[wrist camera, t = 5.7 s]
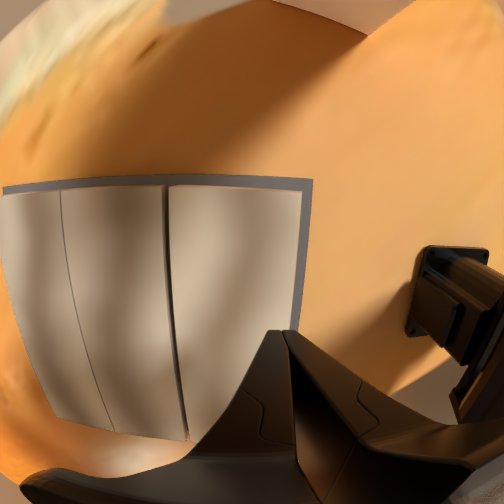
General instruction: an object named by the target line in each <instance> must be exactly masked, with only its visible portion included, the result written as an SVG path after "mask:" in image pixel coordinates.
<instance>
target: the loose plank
mask: <svg viewBox="0 0 504 504" xmlns="http://www.w3.org/2000/svg"><path fill="white" fill-rule="evenodd" d="M301 202H302V191H292V190H279V189H264V188H248V187H229V186H205V185H176V186H171V187H169V235H170V260H171V279H172V294H173V307H174V319H175V330H176V340H177V350H178V359H179V367H180V375H181V383H182V390H183V397H184V404H185V410H186V417H187V423H188V429H189V435H190V440H191V442H195V443H198V442H199V441H200V440H201V439H202V438H203V436H204V435H205V434H206V433H207V432H208V430H209V429H210V428H211V427H212V426H213V424H214V423H215V422H216V421H217V420H218V418H219V417H220V416H221V414H222V413H223V412H224V410H225V409H226V408H227V406H228V404H229V403H230V401H231V399H232V398H233V396H234V394H235V392H236V390H237V389H238V387H239V385H240V383H241V381H242V379H243V377H244V375H245V374H246V372H247V370H248V368H249V366H250V364H251V362H252V360H253V358H254V356H255V354H256V352H257V350H258V348H259V346H260V344H261V342H262V340H263V338H264V336H265V334H266V332H267V331H268V330H281V331H282V330H289V329H290V321H291V312H292V303H293V293H294V284H295V274H296V263H297V252H298V241H299V229H300V216H301Z"/></svg>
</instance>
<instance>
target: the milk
mask: <svg viewBox="0 0 504 504" xmlns="http://www.w3.org/2000/svg"><path fill="white" fill-rule="evenodd" d="M272 1H276V2H280V3H283V4H287V5H290V6H294V7H297V8H300V9H303V10H306V11H309V12H312V13H315V14H318V15H321V16H323V17H326V18H329V19H331V20H334V21H336V22H339V23H341V24H344V25H346V26H349V27H351V28H353V29H355V30H358V31H360V32H362V33H364V34H366V35H370V34H372V33H373V32H374V31H375V30H377V29H378V28H379V27H381V26H382V25H383V24H384V23H386V22H387V21H388V20H390V19H391V18H392V17H394V16H395V15H396V14H398V13H399V12H400V11H402V10H403V9H404V8H406V7H407V6H408V5H410V4H411V3H413V2H414V1H415V0H272Z"/></svg>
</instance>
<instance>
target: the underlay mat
mask: <svg viewBox="0 0 504 504" xmlns="http://www.w3.org/2000/svg"><path fill="white" fill-rule="evenodd" d="M132 185H167V226H168V254H169V273H170V289H171V302H172V314H173V325H174V335H175V345H176V354H177V362H178V370H179V378H180V385H181V392H182V399H183V406H184V412H185V418H186V424H187V430H189V429H188V423H187V417H186V410H185V404H184V397H183V390H182V383H181V375H180V367H179V359H178V350H177V340H176V330H175V319H174V307H173V294H172V279H171V260H170V235H169V187H171V186H176V185H205V186H229V187H248V188H264V189H279V190H292V191H302V202H301V216H300V229H299V241H298V252H297V263H296V274H295V284H294V293H293V303H292V312H291V321H290V329H293V330H296V331H297V332H298V326H299V319H300V311H301V303H302V295H303V286H304V277H305V268H306V258H307V248H308V238H309V226H310V214H311V202H312V188H313V179H306V178H291V177H274V176H251V175H208V174H177V175H135V176H113V177H96V178H82V179H69V180H58V181H48V182H39V183H30V184H22V185H14V186H7V187H3V195H7V194H16V193H25V192H35V191H46V190H58V189H72V188H87V187H106V186H132ZM290 329H289V330H290Z"/></svg>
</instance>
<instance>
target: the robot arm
mask: <svg viewBox="0 0 504 504" xmlns="http://www.w3.org/2000/svg"><path fill="white" fill-rule="evenodd" d="M431 252H432V255H431V256H430V253H431ZM488 258H489V251H488V250H487V249H485V248H477V247H458V246H437V245H429V246H427V247H426V248H425V250H424V252H423V257H422V262H421V267H420V272H419V276H418V281H417V285H416V289H415V293H414V297H413V301H412V305H411V308H410V312H409V316H408V319H407V323H406V326H405V330H404V332H405V334H406V335H407V336H408V337H410V338H411V337H419V336H426V335H429V336H430V337H431V338H432V339H433V340H434V341H435V342H436V343H437V344H438V345H439V347H441V348H444V349H445V350H446V351H447V352H448V353H449V354H450V355H451V356H452V357H453V358H454V359H455V361H456V362H457V363H458V364H459V365H460V366H465V365H466V366H467V368H466V370H465V372H464V374H463V375H462V377H461V379H460V380H459V382H458V384H457V385H456V387H454V388H453V389H452V391H451V393H450V394H449V398H450V401H451V404H452V407H453V410H454V412H455V416H456V418H457V422H458V425H446V424H441V423H438V422H435V421H433V420H431V419H429V418H427V417H425V416H423V415H421V414H419V413H417V412H416V411H413V410H412V409H410V408H408V407H406V406H404V405H403V404H401V403H399V402H397V401H395V400H394V399H392V398H390V397H388V396H387V395H385V394H384V393H382V392H381V391H379V390H377V389H376V388H374V387H373V386H372V385H370V384H369V383H367V382H366V381H363V379H361V378H360V377H359V376H357V375H356V374H354V373H353V372H352V371H350V370H349V369H347V368H346V367H345V366H343V365H342V364H341V363H339V362H338V361H336V360H335V359H334V358H332V357H331V356H330V355H328V354H327V353H325V352H324V351H323V350H321V349H320V348H319V347H317V346H316V345H315V344H313V343H312V342H311V341H309V340H308V339H307V338H305V337H304V336H302V335H301V334H300V333H298V332H297V331H296V330H293V329H290V330H282V331H281V330H268V331H267V332H266V334H265V336H264V338H263V340H262V342H261V344H260V346H259V348H258V350H257V352H256V354H255V356H254V358H253V360H252V362H251V364H250V366H249V368H248V370H247V372H246V374H245V375H244V377H243V379H242V381H241V383H240V385H239V387H238V389H237V390H236V392H235V394H234V396H233V398H232V399H231V401H230V403H229V404H228V406H227V408H226V409H225V410H224V412H223V413H222V414H221V416H220V417H219V418H218V420H217V421H216V422H215V423H214V424H213V426H212V427H211V428H210V429H209V430H208V432H207V433H206V434H205V435H204V436H203V438H202V439H201V440H200V441H199V442H198V443H197V444H196V446H195V447H194V448H193V449H192V450H191V451H190V452H189V453H188V454H187V455H186V456H184V457H183V458H182V459H180V460H178V461H176V462H174V463H171V464H168V465H164V466H161V467H158V468H155V469H151V470H148V471H145V472H141V473H137V474H134V475H130V476H126V477H120V478H98V477H93V476H88V475H85V474H81V473H78V472H75V471H71V470H68V469H64V468H51V469H47V470H43V471H40V472H37V473H34V474H32V475H30V476H29V477H27V478H26V479H25V480H24V481H23V482H22V483H21V484H20V485H19V487H20V491H21V492H22V493H23V495H24V496H25V497H26V498H27V499H28V500H29V501H30V502H31V503H32V504H504V275H502V274H500V273H499V272H497V271H495V270H493V269H492V268H490V267H488V266H487V262H488ZM411 330H412V331H411ZM297 455H298V457H297ZM298 459H299V462H298ZM299 463H300V465H299Z"/></svg>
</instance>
